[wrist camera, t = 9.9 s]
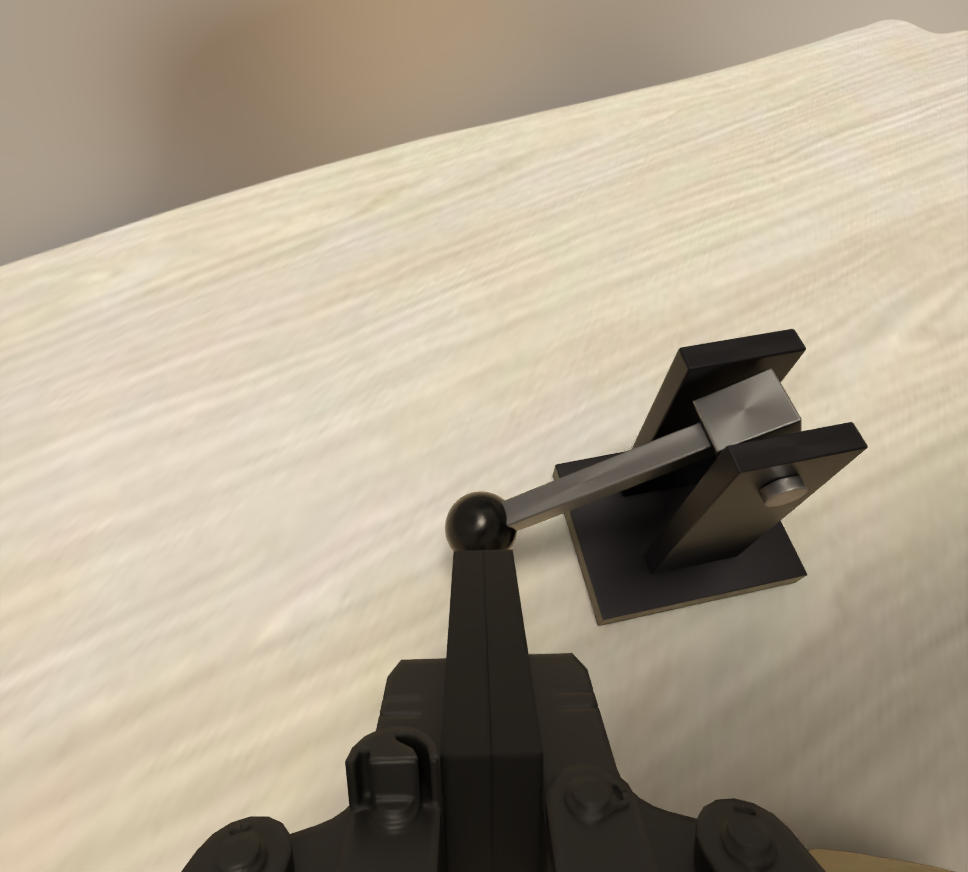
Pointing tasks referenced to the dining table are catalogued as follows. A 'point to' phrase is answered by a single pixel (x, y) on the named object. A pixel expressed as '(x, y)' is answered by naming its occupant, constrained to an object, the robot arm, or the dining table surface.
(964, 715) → the dining table surface
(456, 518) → the lever
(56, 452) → the dining table surface
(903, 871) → the sugar bowl
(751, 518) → the bracket
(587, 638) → the dining table surface
